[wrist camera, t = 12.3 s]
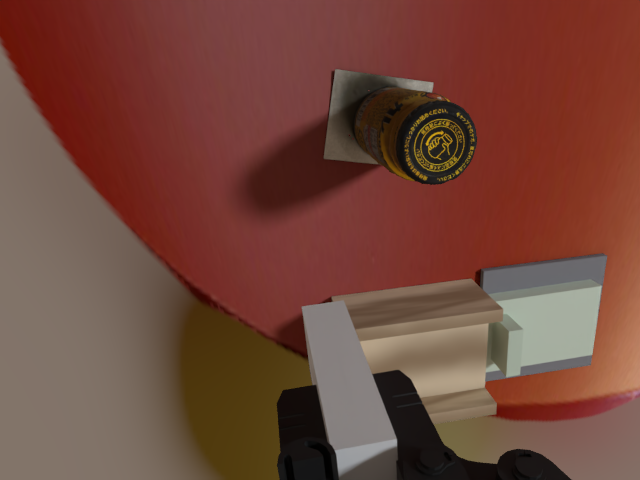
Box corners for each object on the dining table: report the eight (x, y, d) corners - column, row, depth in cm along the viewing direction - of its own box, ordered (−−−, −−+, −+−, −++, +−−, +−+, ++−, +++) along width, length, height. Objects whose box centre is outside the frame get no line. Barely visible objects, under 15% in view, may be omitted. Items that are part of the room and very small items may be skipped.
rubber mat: (481, 269, 47) (483, 271, 46) (603, 253, 48) (607, 255, 48) (475, 379, 51) (477, 382, 51) (586, 361, 53) (590, 365, 52)
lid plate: (478, 295, 47) (501, 318, 43) (590, 279, 48) (624, 299, 44) (475, 363, 50) (497, 391, 45) (582, 346, 51) (612, 371, 47)
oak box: (331, 296, 45) (344, 331, 39) (471, 278, 47) (503, 309, 41) (338, 393, 49) (350, 437, 43) (466, 373, 51) (496, 414, 45)
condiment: (416, 168, 42) (476, 203, 31) (323, 158, 41) (351, 191, 30) (432, 82, 40) (504, 87, 29) (334, 69, 38) (370, 68, 27)
